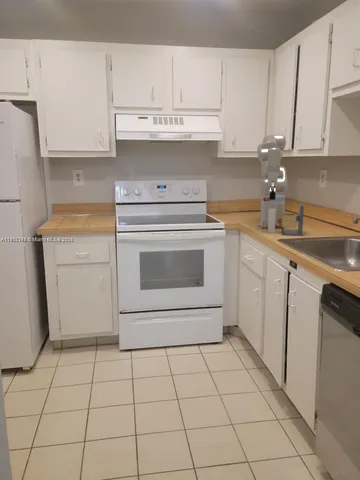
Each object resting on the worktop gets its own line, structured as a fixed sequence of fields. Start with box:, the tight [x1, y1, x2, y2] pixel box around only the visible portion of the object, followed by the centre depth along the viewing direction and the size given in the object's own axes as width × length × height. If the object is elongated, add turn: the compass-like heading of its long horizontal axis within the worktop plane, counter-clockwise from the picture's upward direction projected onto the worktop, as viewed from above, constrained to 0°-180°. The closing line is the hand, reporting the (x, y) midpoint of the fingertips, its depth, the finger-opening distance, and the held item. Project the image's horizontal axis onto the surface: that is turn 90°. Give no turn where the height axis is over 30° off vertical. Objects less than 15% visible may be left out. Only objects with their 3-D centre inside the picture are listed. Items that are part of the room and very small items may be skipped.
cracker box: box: [260, 194, 286, 229], centre depth 237 cm, size 14×6×21 cm, turn 92°
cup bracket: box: [281, 202, 305, 237], centre depth 217 cm, size 16×12×17 cm
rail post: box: [267, 209, 276, 234], centre depth 221 cm, size 4×4×14 cm
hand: (272, 199), depth 218 cm, fingers open, 9 cm apart
